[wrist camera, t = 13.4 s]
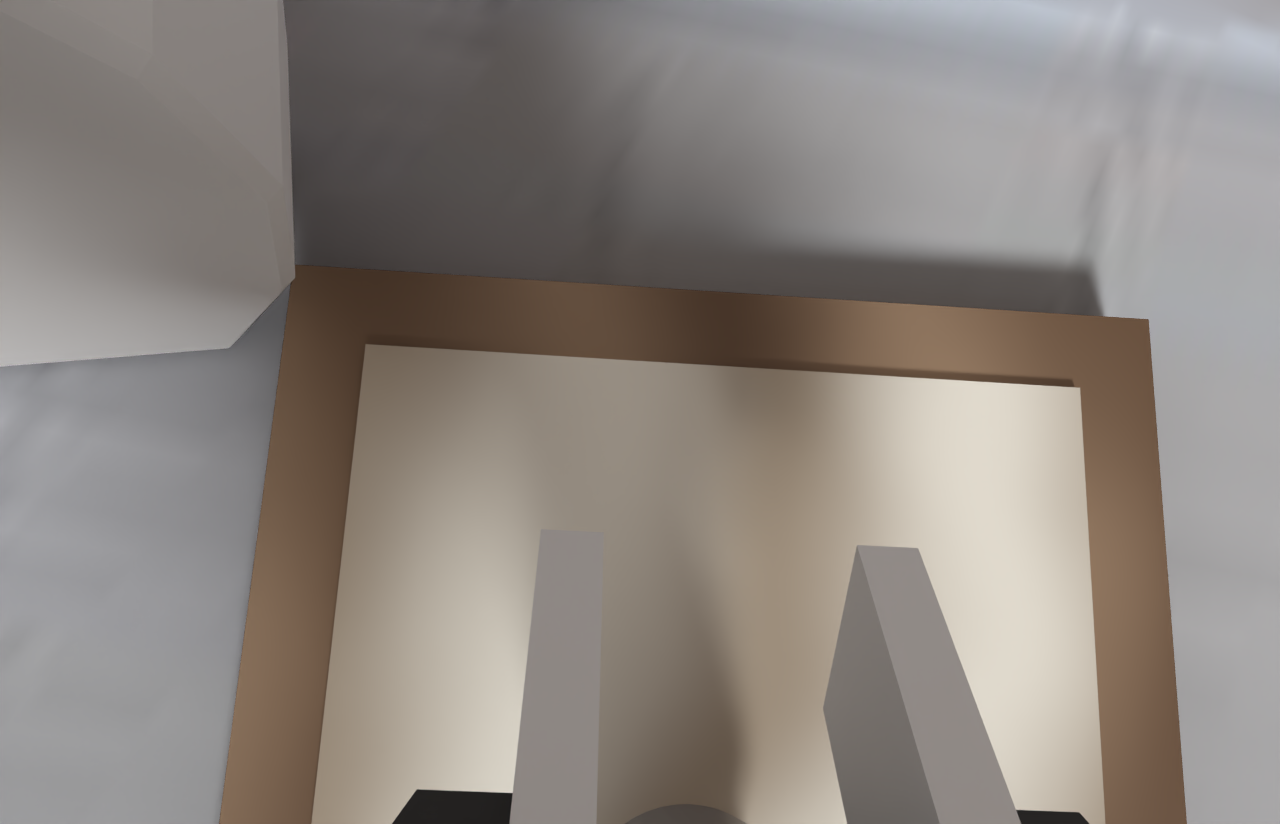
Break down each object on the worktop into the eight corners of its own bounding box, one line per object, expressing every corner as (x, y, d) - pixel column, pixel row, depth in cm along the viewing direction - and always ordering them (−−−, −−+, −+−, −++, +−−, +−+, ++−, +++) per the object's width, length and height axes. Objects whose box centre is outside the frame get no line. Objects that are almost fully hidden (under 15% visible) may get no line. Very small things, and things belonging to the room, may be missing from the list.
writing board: (190, 1238, 18) (152, 1293, 16) (312, 293, 22) (291, 259, 20) (1172, 1262, 19) (1231, 1314, 17) (1111, 343, 23) (1153, 316, 21)
